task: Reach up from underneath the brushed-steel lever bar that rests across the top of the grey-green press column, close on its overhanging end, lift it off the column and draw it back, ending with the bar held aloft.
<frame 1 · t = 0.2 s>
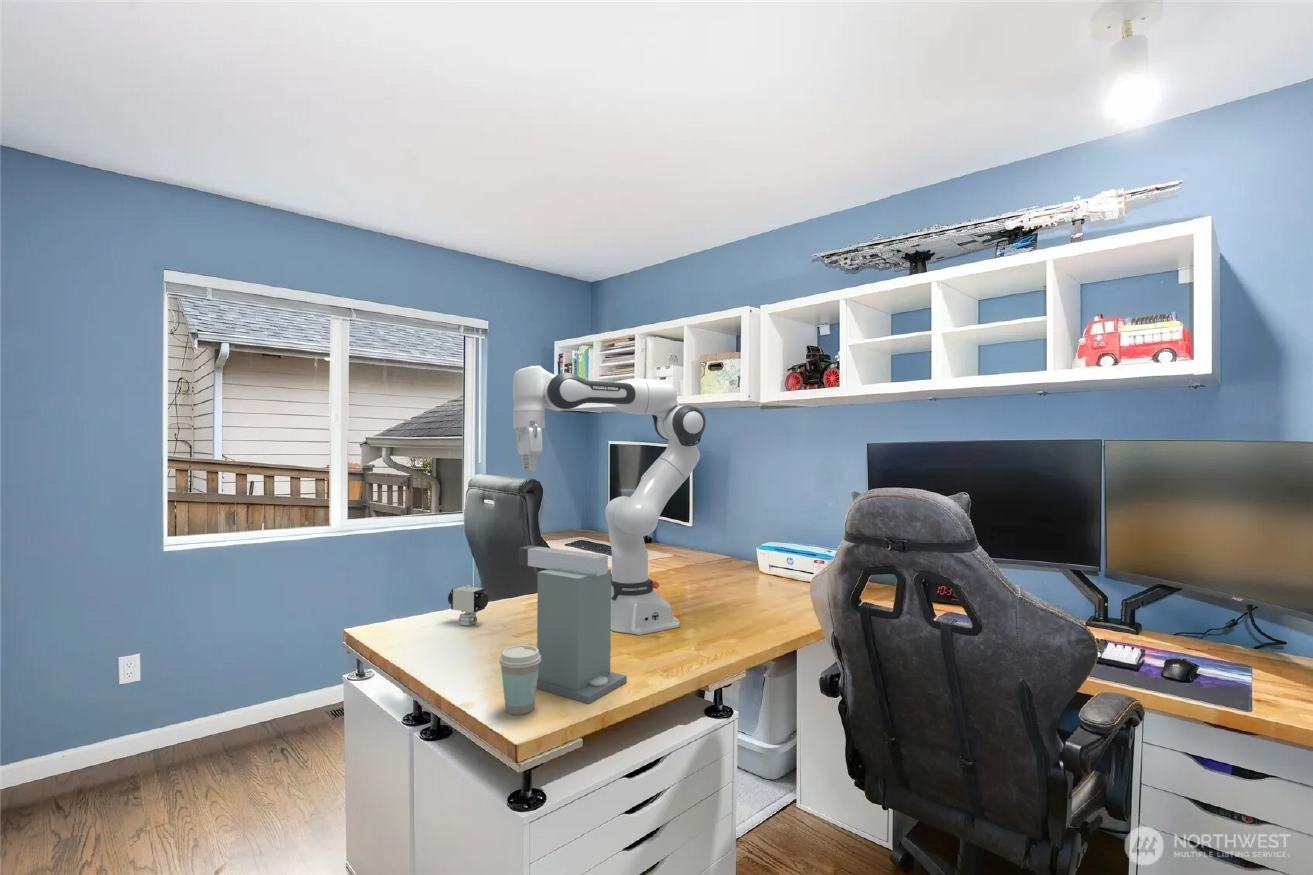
hand: (529, 470, 172), 48 cm above the table, tool pointing down, fingers open, 8 cm apart
lever bar: (561, 568, 142), point 26 cm above the table, touching press column
pneumatic valve: (468, 624, 184), on the table
coffee cup: (520, 709, 126), on the table
press column: (574, 682, 140), on the table
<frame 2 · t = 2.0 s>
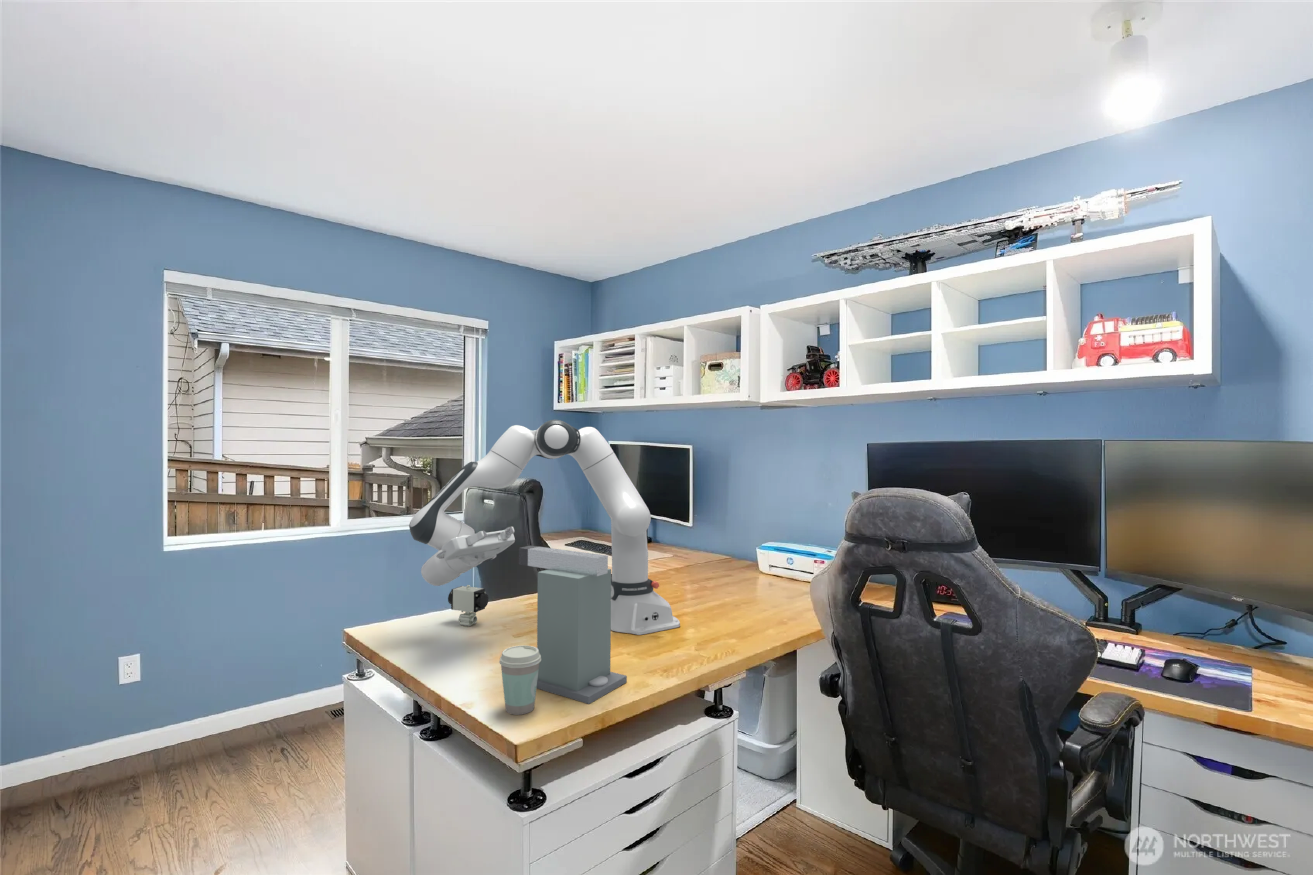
hand: (498, 531, 154), 33 cm above the table, tool pointing upward, fingers open, 8 cm apart
nothing on the table moved.
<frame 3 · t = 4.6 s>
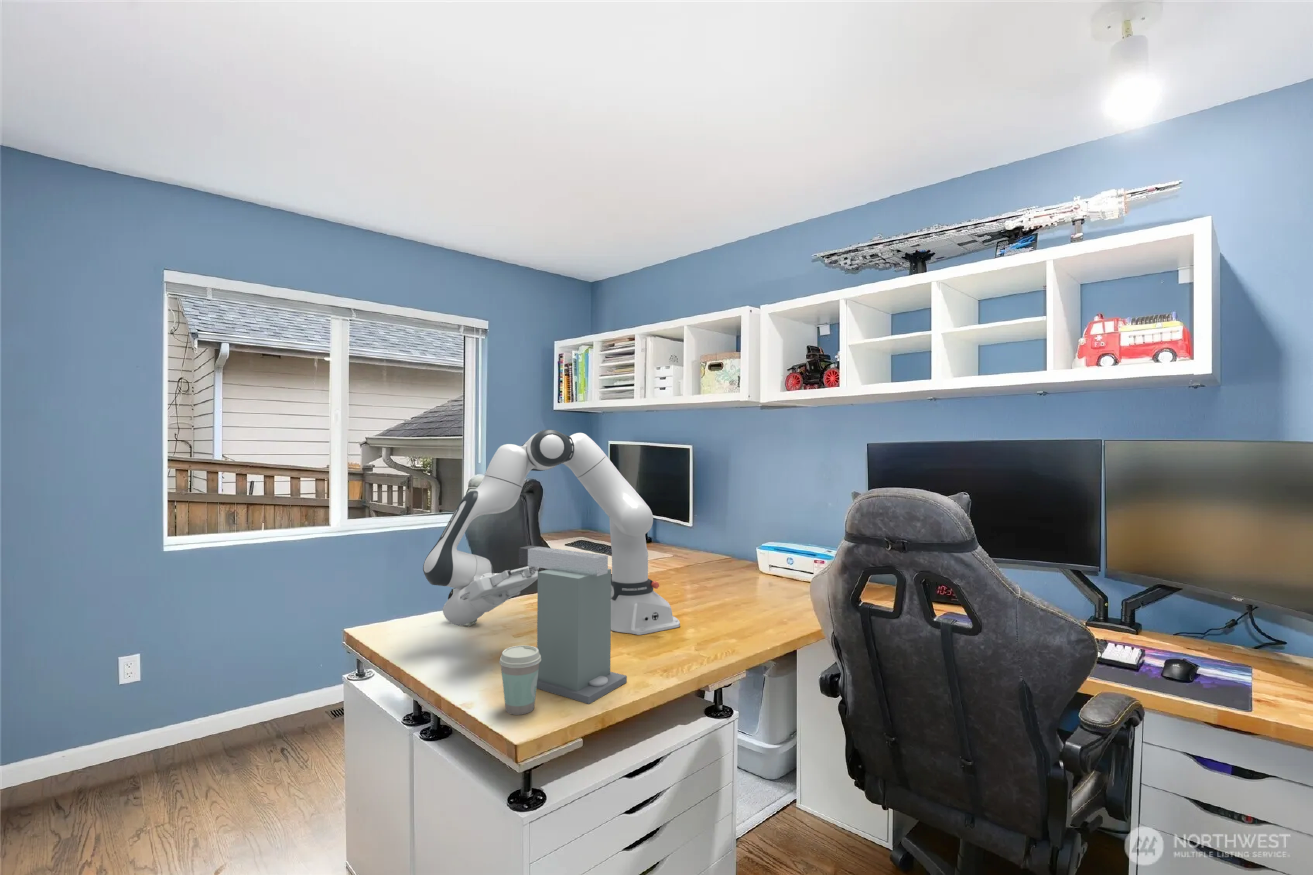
hand: (523, 569, 149), 24 cm above the table, tool pointing upward, fingers open, 8 cm apart
nothing on the table moved.
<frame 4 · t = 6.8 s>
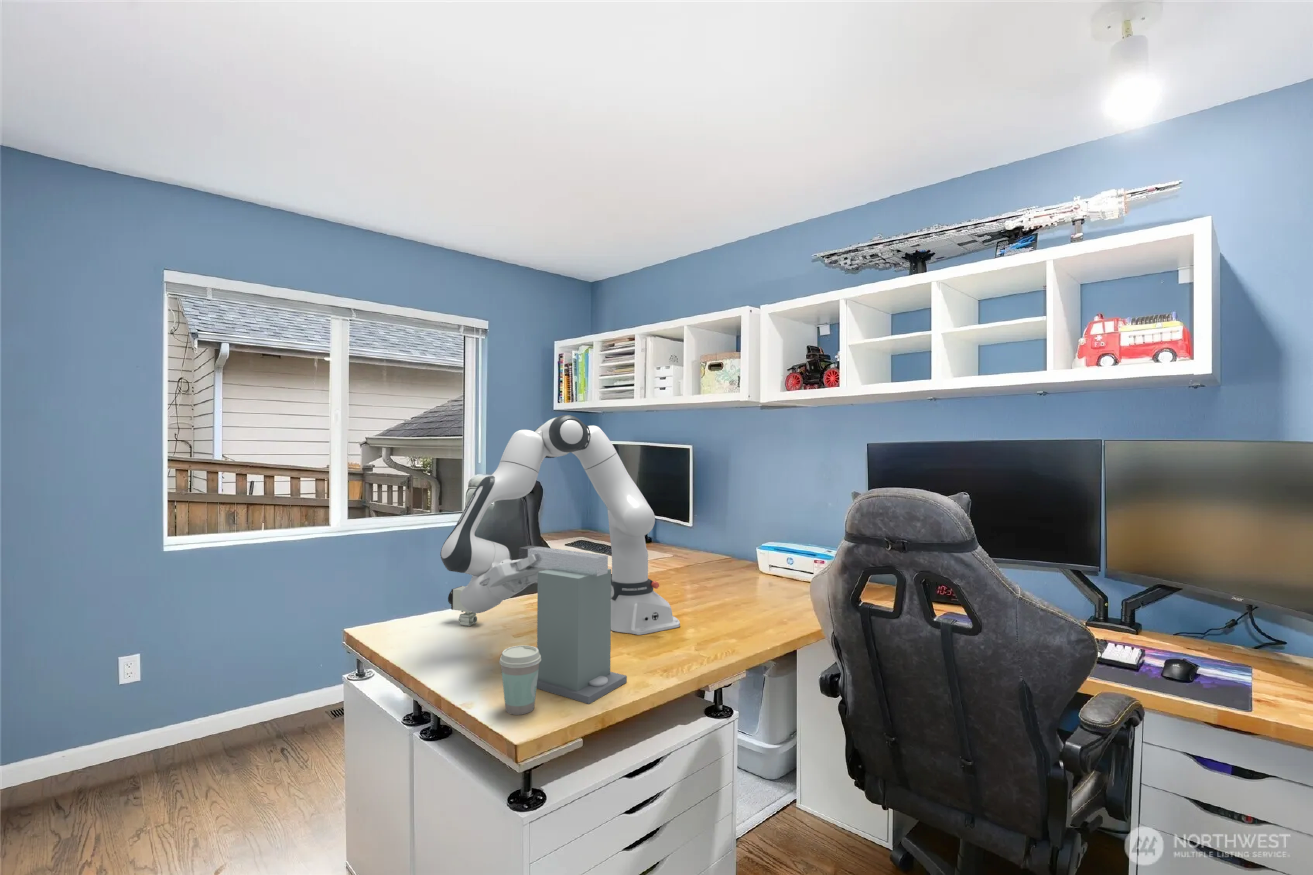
hand: (543, 555, 145), 28 cm above the table, tool pointing upward, fingers closed on lever bar, 4 cm apart
lever bar: (561, 568, 142), point 26 cm above the table, touching gripper, press column
everything else where it was.
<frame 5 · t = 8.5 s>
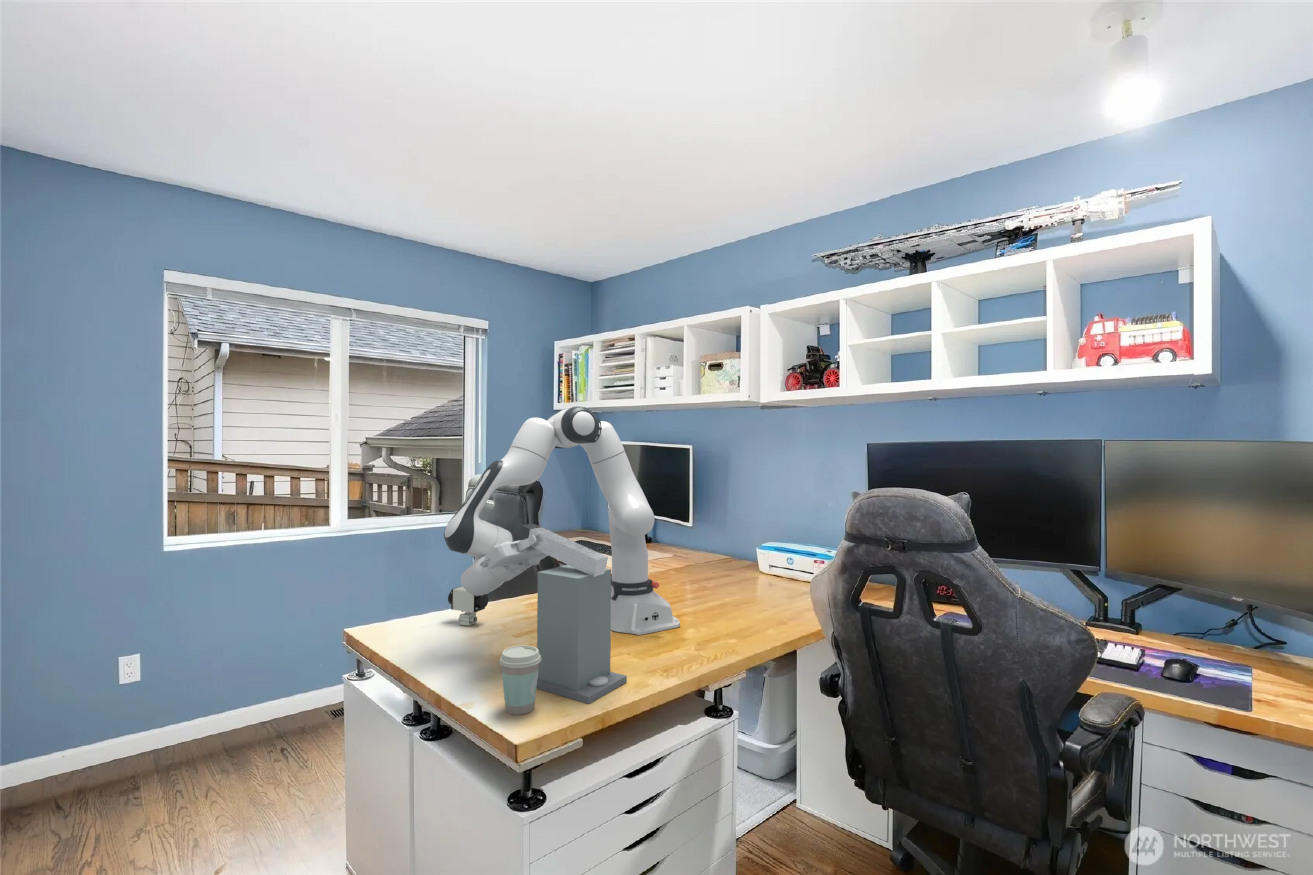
hand: (544, 536, 145), 33 cm above the table, tool pointing upward, fingers closed on lever bar, 4 cm apart
lever bar: (560, 556, 143), point 29 cm above the table, tilted 14°, touching gripper
everything else where it was.
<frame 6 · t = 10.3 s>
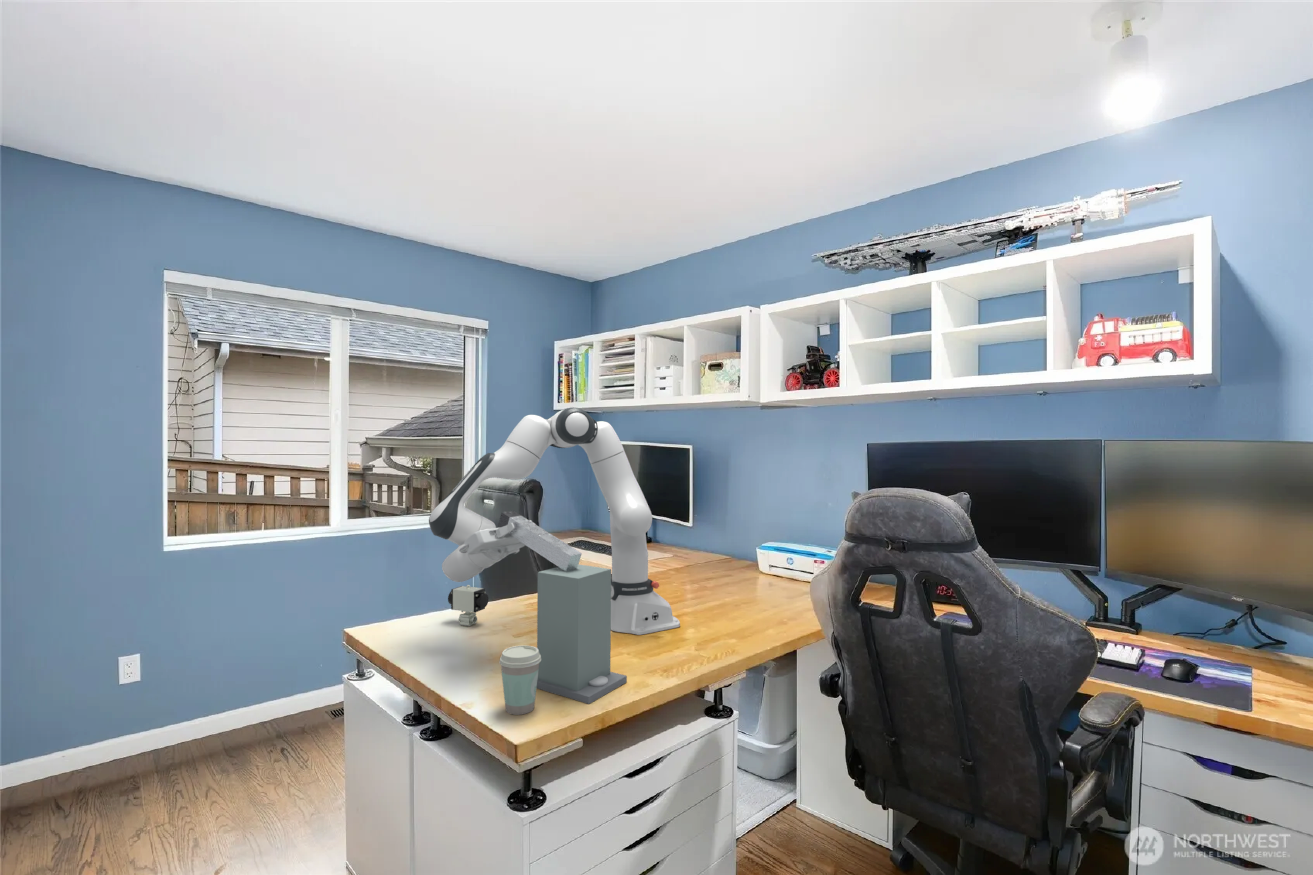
hand: (522, 524, 149), 36 cm above the table, tool pointing upward, fingers closed on lever bar, 4 cm apart
lever bar: (536, 547, 146), point 30 cm above the table, tilted 21°, touching gripper
everything else where it was.
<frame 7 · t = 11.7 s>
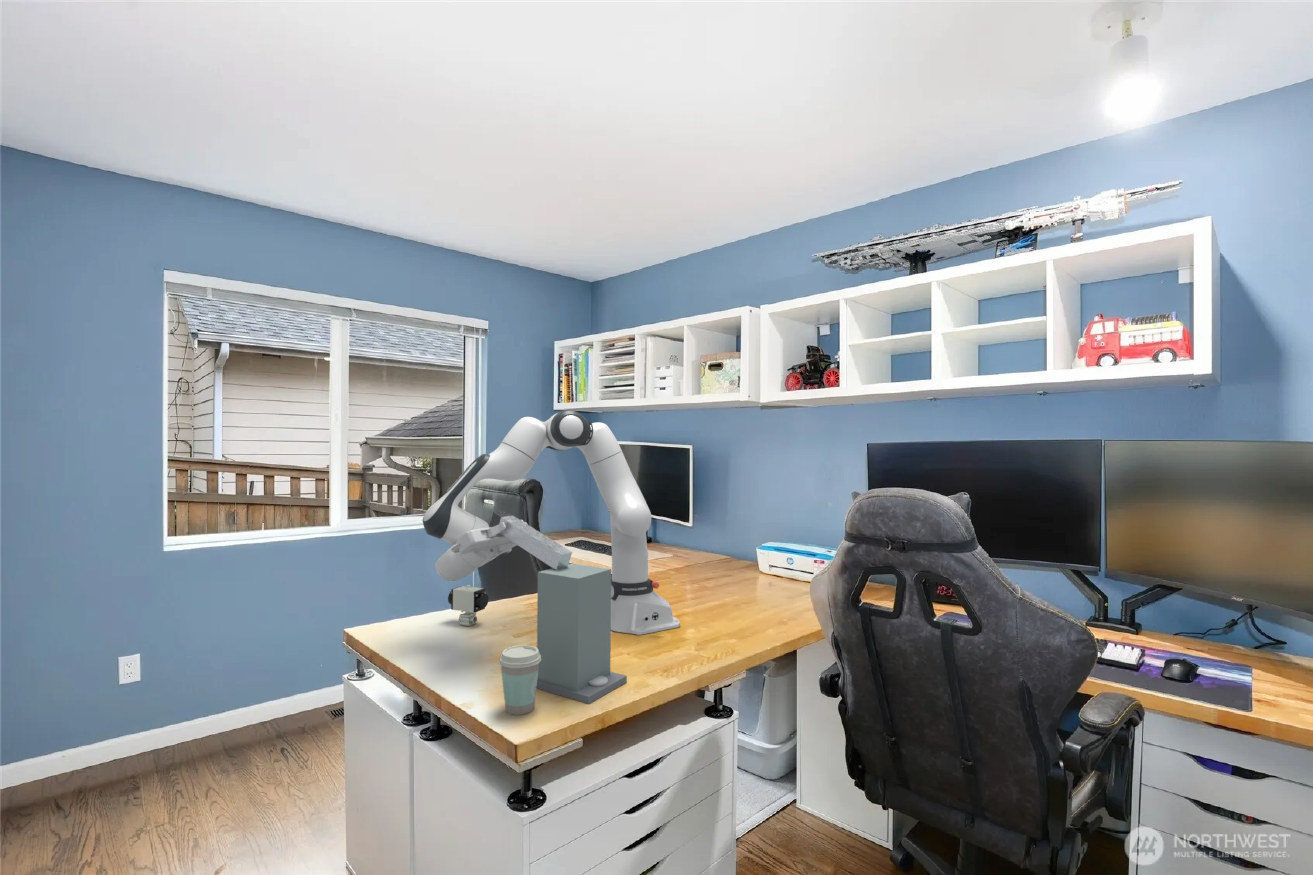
hand: (513, 523, 151), 35 cm above the table, tool pointing upward, fingers closed on lever bar, 4 cm apart
lever bar: (527, 546, 148), point 30 cm above the table, tilted 20°, touching gripper, press column
everything else where it was.
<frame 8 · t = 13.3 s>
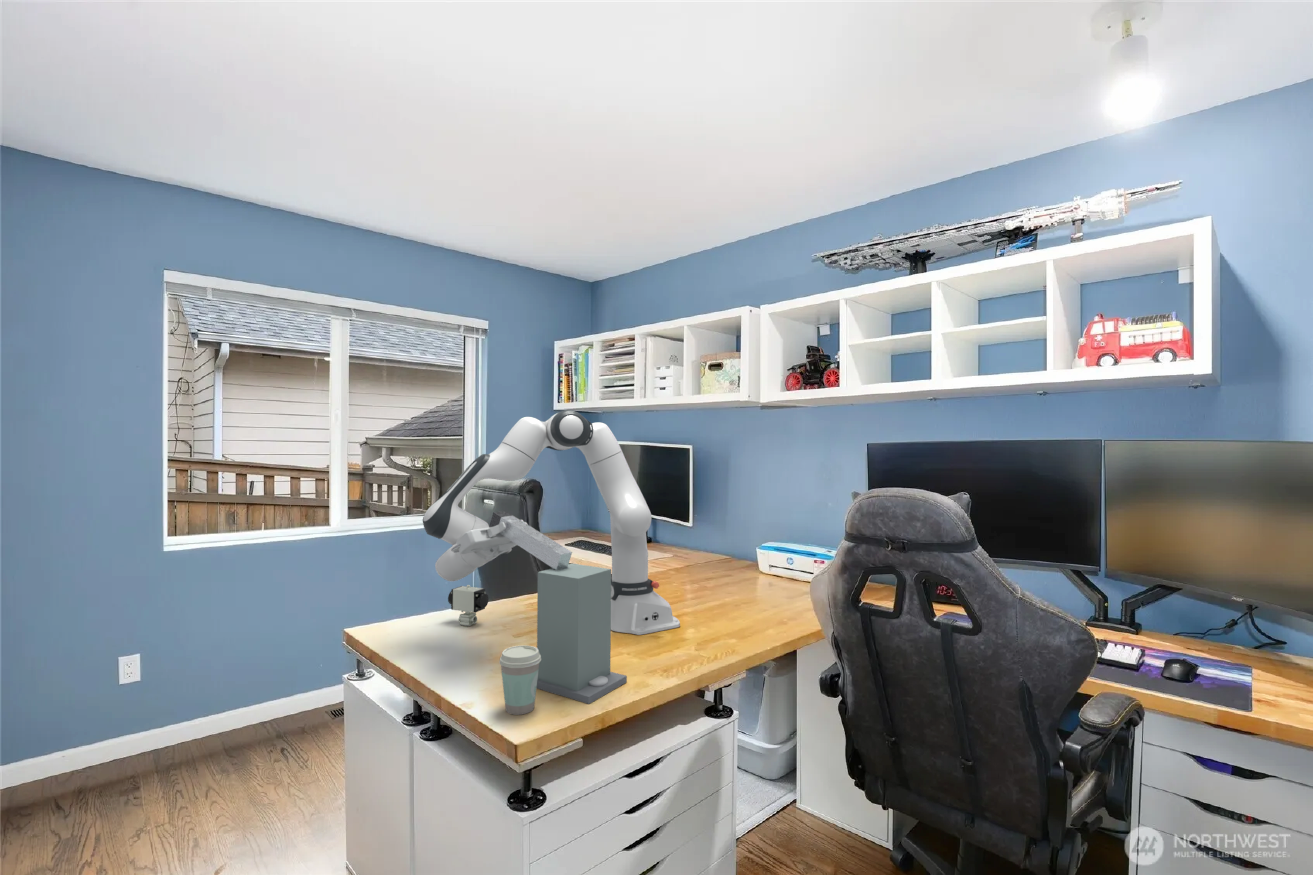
hand: (513, 523, 151), 35 cm above the table, tool pointing upward, fingers closed on lever bar, 4 cm apart
lever bar: (527, 546, 148), point 30 cm above the table, tilted 20°, touching gripper, press column
everything else where it was.
at the end: the gripper is holding lever bar; lever bar point 30.2 cm above the table; lever bar moved 11.8 cm from its start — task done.
